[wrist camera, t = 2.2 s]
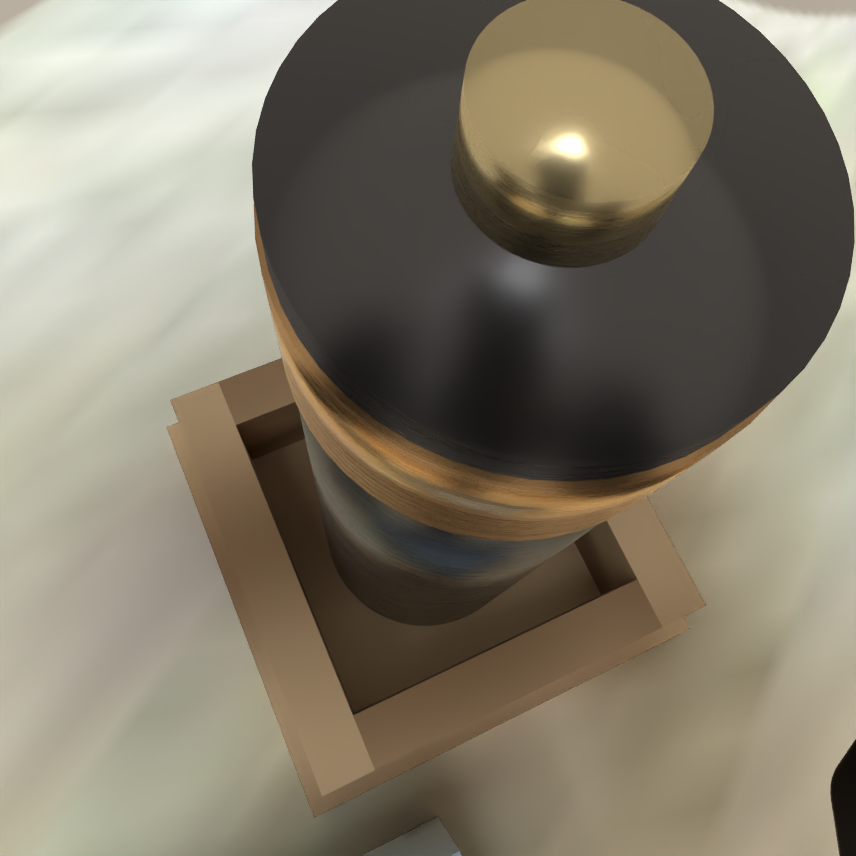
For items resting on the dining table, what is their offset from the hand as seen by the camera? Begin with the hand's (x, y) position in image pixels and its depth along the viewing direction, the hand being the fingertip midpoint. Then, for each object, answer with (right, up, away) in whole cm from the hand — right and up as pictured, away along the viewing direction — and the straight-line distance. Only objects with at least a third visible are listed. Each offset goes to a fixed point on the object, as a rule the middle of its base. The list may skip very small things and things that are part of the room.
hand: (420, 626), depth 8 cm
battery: (0, 0, +10) cm, 10 cm away
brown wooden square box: (0, -1, +11) cm, 11 cm away
